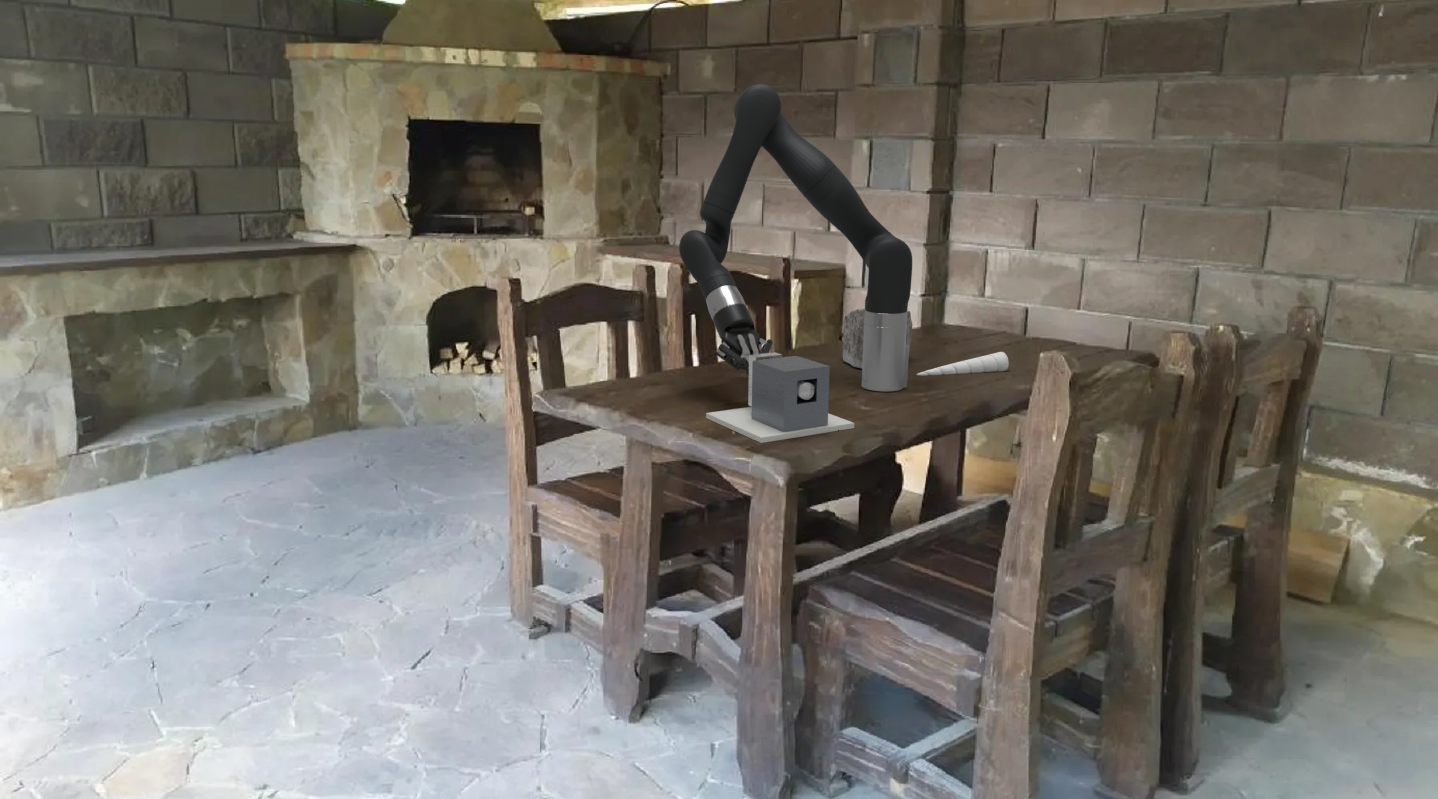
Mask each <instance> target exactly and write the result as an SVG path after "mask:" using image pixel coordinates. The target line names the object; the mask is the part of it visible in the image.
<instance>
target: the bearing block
mask: <svg viewBox="0 0 1438 799" xmlns="http://www.w3.org/2000/svg"><path fill="white" fill-rule="evenodd" d="M830 370H831V366H830V365H828V364H824V363H821V362H818V361H814V360H811V359H809V358H805V357H802V356H797V355H792V356H782V357H781V358H772V359H763V360H755V361H752V406H751V407H752V419H753V420H755V421H758V422H760V423H763V424H765V425H767V426H770V427H772V428H774V429H777V430H779V431H781V432H789V431H796V430H802V429H809V428H815V427H821V426H828V413H829V401H830V400H829V399H830V398H829V397H830V376H831V375H830V374H831V371H830ZM800 380H803V381H806V382H809V383H811V384H812V385H813V386H814V394H813V396H812V397H811V398H810V399H808V400H804V399H802V398H799V397H797V383H798V381H800Z"/></svg>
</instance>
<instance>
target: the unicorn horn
mask: <svg viewBox="0 0 1438 799" xmlns="http://www.w3.org/2000/svg"><path fill="white" fill-rule="evenodd" d="M1008 368H1009V358H1008V356H1007V354H1006V353H1005V352H1004V351H998V352H994V353H990V354H986V355H983V356H977V357H974V358H969V359H965V360H961V361H956V362H953V363H949V364H945V365H942V366H938V367H935V368H931V369H927V370H925V371H921V372H918V373H916V376H919V377H921V376H922V377H923V376H924V377H927V376H942V375H956V374H958V375H961V374H963V375H964V374H980V373H994V372H999V373H1000V372H1006V371H1007V370H1008Z"/></svg>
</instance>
